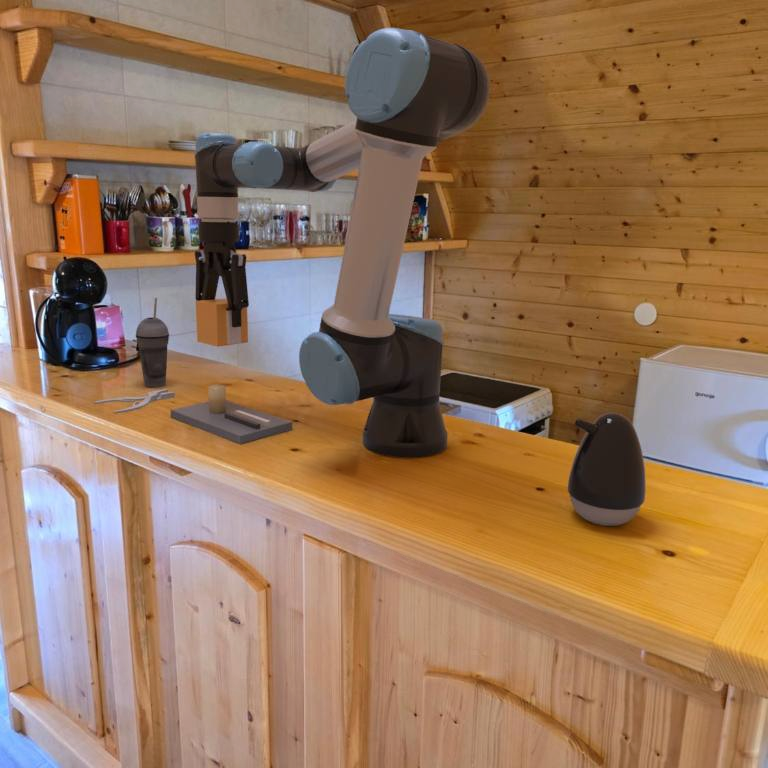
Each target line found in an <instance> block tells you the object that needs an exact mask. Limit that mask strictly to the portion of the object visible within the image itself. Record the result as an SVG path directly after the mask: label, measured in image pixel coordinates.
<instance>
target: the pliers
mask: <svg viewBox="0 0 768 768" xmlns="http://www.w3.org/2000/svg"><path fill="white" fill-rule="evenodd" d="M146 394H147V395H145V396H125V397H114V398H113V397H112V398H107V399H101V400H97V401H93V405H98V404H105V403H112V402H113V403H114V402H120V403H121V402H122V403H133V404H132V406H129V407H126V408H121V409H119V410H114V411H113V413H114V414H121V413H126V412H127V413H128V412H131V411H136V410H139V409H141V408H145V407H147V406H148V405H149V404H150V403H154V402H155V401H156V402H157V401H162V400H169V399H175V395H176V394H175V391H169V389H168V388H164V389H159V390H153V391H150V392H147V393H146ZM139 401H141V402H139Z"/></svg>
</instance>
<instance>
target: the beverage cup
mask: <svg viewBox="0 0 768 768" xmlns="http://www.w3.org/2000/svg"><path fill="white" fill-rule="evenodd" d="M157 305H158V297H154V306H153V317H146V318H144V319H142V320H141V321H140V322H139V324H138V325H137V327H136V330H135V331H136V332H135V337H136V343H137V346H138V350H139V351H138V352H139V357H140V365H141V372H142V377H143V383H144V386H145V387H146V388H161V387H165V386H166V380H167V368H168V367H167V361H168V345H169V339H170V333H169V330H168V326H167V324H166V323H165V322H164V321H163V320H162V319H160V318H158V317H157Z"/></svg>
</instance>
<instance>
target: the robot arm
mask: <svg viewBox="0 0 768 768" xmlns="http://www.w3.org/2000/svg"><path fill="white" fill-rule="evenodd" d="M484 64H485V63H483V61H482V60H481V59H480V58H479V57H478V55H476V53H474V52H473V51H472V50H470V49H468V48H467V47H465V46H461V45H460V44H454V43H451V42H449V41H448V42H447V41H445V40H443V39H439V38H435V37H433V36H430V35H427V34H424V33H421V32H419V31H418V32H417V31H414V30H412V29H410V30H409V29H402V28H397V27H385V28H380V29H378V30H376V31H374V32H372V33H371V34H369V35H368V36H367V38H366V39H365V40H363V41H362V42H360V43H359V45H358V47H356V48H355V50H354V53H353V54H352V56H351V57H350V60H349V64H348V66H347V70H346V74H345V79H344V93H345V97H346V98H347V99H348V100H347V105H348V107H349V109H350V111H351V112H352V114H353V115H355V116H356V119H355V120H353V121H352V122H350V123H347V124H346V125H344V126H342V127H340V128H338V129H336V130H333V131H332V132H330V133H328V134H326V135H324V136H322V137H321V138H318V139H317V140H315V141H313V142H311V143H308V144H306V145H305V146H301V147H290V146H279V145H273V144H271V143H268V142H265V141H255V140H253V141H248V142H244V143H237V138H236V137H235V136H234V135H232V134H230V133H229V134H227V133H220V132H218V133H217V132H214V133H213V132H211V133H204V132H203V133H200V134H198V135H197V136H196V138H195V153H194V160H195V161H194V163H195V179H196V180H195V181H196V193H197V194H196V195H197V197H196V199H197V202H196V204H197V205H196V207H197V218H198V219H200V220H201V221H199V222H198V225H197V226H198V240H199V241H200V242H201V243H204V247H203V250H197V251H196V250H195V251H194V258H195V296H194V297H195V302H196V301H201V300H213V299H216V296H217V291H218V285H219V279H220V277H221V280H222V285H223V289H224V294H225V298H227V302H228V306H229V307H228V308H226V321H227V344H229V345H228V346H232V345H231V344H233V345H239V344H238V343H240V344H242V343H241V324H242V323H241V310H242V309H243V308H245V307H247V308H248V307H249V306H250V305H249V303H250V302H249V301H250V300H249V295H248V294H249V293H248V292H249V290H248V282H247V281H248V280H247V271H246V270H247V269H246V263H247V255H246V254H240V253H238V252H237V250H236V246H235V243H238V242H239V241H240V224H239V223H238V222H236V220H238V219H239V217H240V216H239V188H241V189H267V190H287V191H300V192H301V191H304V192H311V193H315V192H325V191H328V190H331V188H333V185H334V184H335V183H336V181H337V180H338V178H342V177H343V176H346V175H349V174H351V173H352V172H355V171H357V170H358V173H357V178H356V182H355V188H354V194H353V199H352V204H351V210H350V215H349V220H348V224H347V233H346V235H345V236H346V237H345V243H344V246H343V247H344V249H343V254H342V258H341V264H340V269H339V274H338V280H337V286H336V290H335V291H336V292H335V297H334V303H333V305H331V306H329V307H328V308H327V309H325V310H323V311H322V314H321V320H320V323H319V328H318V329H319V330H318V331H315V332H311V334H308V335H307V337H305V338H304V339H303V340H302V342H301V345H300V347H299V353H298V360H299V361H298V363H299V368H300V369H299V370H300V373H301V376H302V379H303V380H304V382H305V385H306V387H307V388H308V390H309V391H310V393H311V394H312V395H313V396H314V397H315V398H316V399H317V400H318V401H320V402H321V403H323V404H326V405H329V406H339V405H351V404H354V403H356V402H359V401H363V400H367V399H371V398H373V401H372V404H371V407H370V410H369V413H368V416H367V419H366V422H365V425H364V427H363V429H362V430H363V431H362V445H363V447H364V448H365V449H367V450H368V451H370V452H373V453H375V454H378V455H383V456H386V457H392V458H403V459H408V458H409V459H410V458H411V459H415V458H416V459H417V458H425V457H431V456H432V457H433V456H435V455H438V454H441V453H443V452H444V451H445V450H446V449H447V447H448V431H447V430H446V429H447V428H446V425H445V420H444V417H443V414H442V410H441V407H440V396H441V395H440V393H441V378H442V377H441V375H442V363H443V362H442V359H443V347H444V341H443V327H442V325H441V323H440V322H438V320H434V319H431V318H427V317H426V318H425V317H419V316H411V315H405V314H395V313H390V309H391V306H392V305H391V304H392V300H393V295H394V292H395V287H396V283H397V278H398V273H399V269H400V263H401V260H402V254H403V250H404V246H405V241H406V236H407V232H408V227H409V223H410V219H411V214H412V209H413V205H414V200H415V196H416V193H417V187H418V184H419V183H418V182H419V177H420V173H421V170H422V169H421V168H422V164H423V161H424V160H423V159H424V158H425V157H426V156H427V155H429V154H430V153H432V152H433V151H435V150H436V149H437V146H438V143H440V142H442V141H445V140H447V139H451V138H453V137H454V136H457V135H460V134H462V133H463V132H465V131H467V130H469V129H470V128H472V127H473V126H474V125H475V124H476V123H477V122H478V121H479V120H480V118H481V116H482V115H484V113H485V110H486V108H487V105H488V103H489V98H490V92H491V86H490V79H489V75H488V72H487V69H486V67H485V65H484Z"/></svg>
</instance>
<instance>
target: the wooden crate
mask: <svg viewBox="0 0 768 768" xmlns="http://www.w3.org/2000/svg"><path fill="white" fill-rule="evenodd" d="M228 307H229V306H228V302H227V298H226V297H225V298H215V299H213V300H201V301H196V300H195V315H196V316H195V317H196V320H195V321H196V339H197V340H196V341H197V343H202V344H204V345H205V344H206V345H210V346H212V347H219V348H220V347H225V346H233V345H234V344H231V345H229V344H227V321H226V308H228ZM241 323H242V324H241V343H238V344H237V345H239V344H245V343H246V344H247V343H248V342H249V331H248V330H249V329H248V327H249V325H248V307H245V308H243V309H242V310H241Z"/></svg>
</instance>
